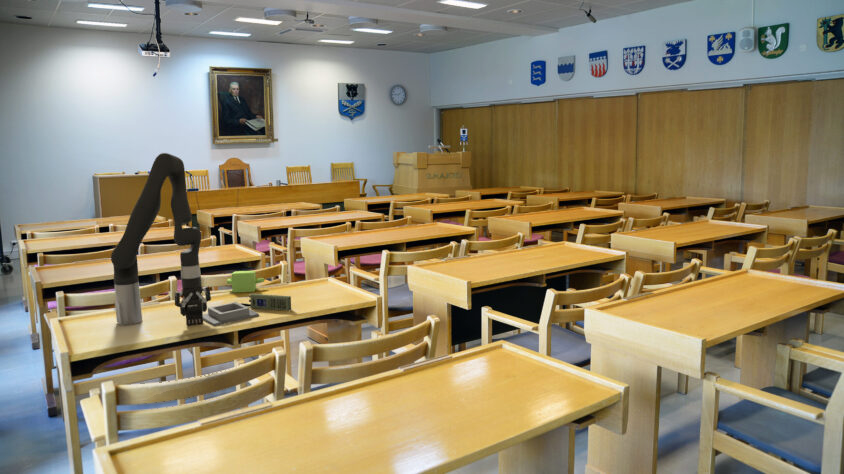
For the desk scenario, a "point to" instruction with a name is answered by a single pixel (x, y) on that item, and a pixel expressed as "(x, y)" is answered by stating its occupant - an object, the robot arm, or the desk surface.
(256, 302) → the handheld radio
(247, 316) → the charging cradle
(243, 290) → the gearbox
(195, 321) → the battery
